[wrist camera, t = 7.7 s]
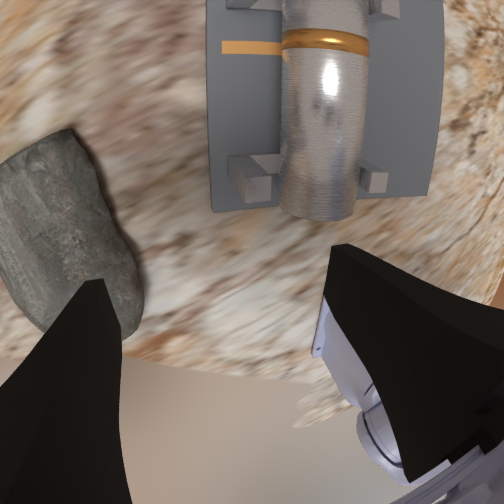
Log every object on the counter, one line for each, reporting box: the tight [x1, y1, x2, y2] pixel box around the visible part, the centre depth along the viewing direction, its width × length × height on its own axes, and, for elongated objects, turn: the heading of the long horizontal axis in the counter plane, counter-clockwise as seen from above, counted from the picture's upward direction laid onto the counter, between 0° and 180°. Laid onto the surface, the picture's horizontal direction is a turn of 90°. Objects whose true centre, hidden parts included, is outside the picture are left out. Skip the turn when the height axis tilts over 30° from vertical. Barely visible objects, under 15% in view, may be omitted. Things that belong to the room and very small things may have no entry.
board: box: [206, 0, 444, 213], centre depth 16 cm, size 18×18×1 cm
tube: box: [278, 0, 369, 221], centre depth 13 cm, size 14×4×4 cm, turn 0°
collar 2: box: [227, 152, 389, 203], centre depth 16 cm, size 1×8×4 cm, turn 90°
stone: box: [0, 129, 144, 341], centre depth 16 cm, size 11×4×15 cm
